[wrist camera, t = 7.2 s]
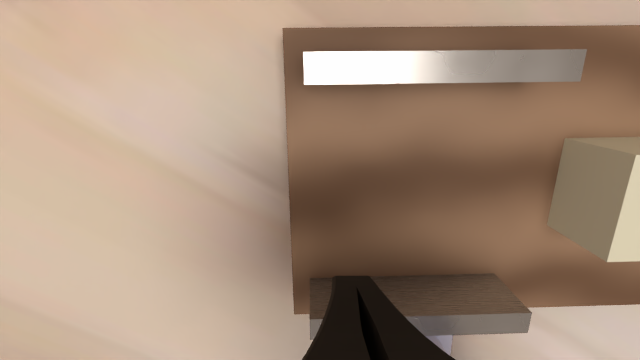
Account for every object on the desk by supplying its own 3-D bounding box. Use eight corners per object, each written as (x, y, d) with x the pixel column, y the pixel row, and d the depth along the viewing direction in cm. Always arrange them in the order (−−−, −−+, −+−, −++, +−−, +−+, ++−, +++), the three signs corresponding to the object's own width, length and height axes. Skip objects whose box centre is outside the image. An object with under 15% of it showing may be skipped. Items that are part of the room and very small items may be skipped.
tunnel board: (736, 277, 23) (784, 299, 21) (295, 289, 23) (294, 314, 20) (837, 30, 19) (915, 23, 16) (286, 34, 18) (282, 28, 16)
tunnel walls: (491, 290, 20) (527, 332, 17) (310, 295, 20) (310, 339, 17) (530, 55, 16) (587, 49, 13) (304, 57, 16) (303, 51, 13)
